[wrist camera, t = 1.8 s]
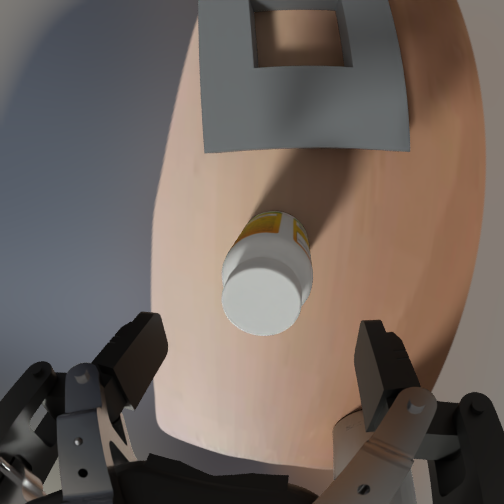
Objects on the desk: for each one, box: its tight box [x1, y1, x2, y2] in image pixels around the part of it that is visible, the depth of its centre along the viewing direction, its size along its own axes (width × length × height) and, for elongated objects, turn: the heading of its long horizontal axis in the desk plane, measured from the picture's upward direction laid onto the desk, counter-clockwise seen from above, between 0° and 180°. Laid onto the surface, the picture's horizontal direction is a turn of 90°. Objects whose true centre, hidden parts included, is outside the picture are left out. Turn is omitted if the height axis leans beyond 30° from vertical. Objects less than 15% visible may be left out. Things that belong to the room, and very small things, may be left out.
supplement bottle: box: [222, 211, 313, 336], centre depth 18 cm, size 5×5×10 cm
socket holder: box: [198, 0, 410, 153], centre depth 15 cm, size 18×14×3 cm
